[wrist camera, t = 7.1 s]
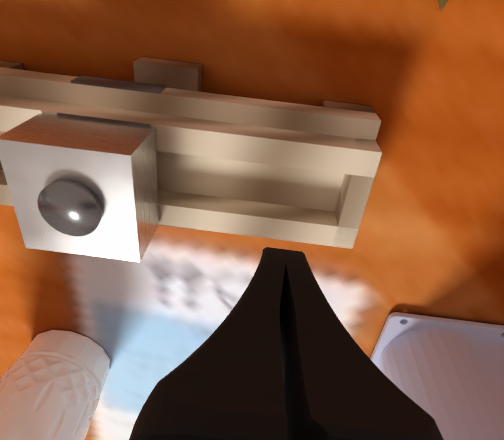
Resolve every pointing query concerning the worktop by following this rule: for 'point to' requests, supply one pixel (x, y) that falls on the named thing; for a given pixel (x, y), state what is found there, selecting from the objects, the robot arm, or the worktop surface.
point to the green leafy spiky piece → (442, 4)
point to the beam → (222, 149)
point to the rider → (83, 185)
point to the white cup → (53, 388)
